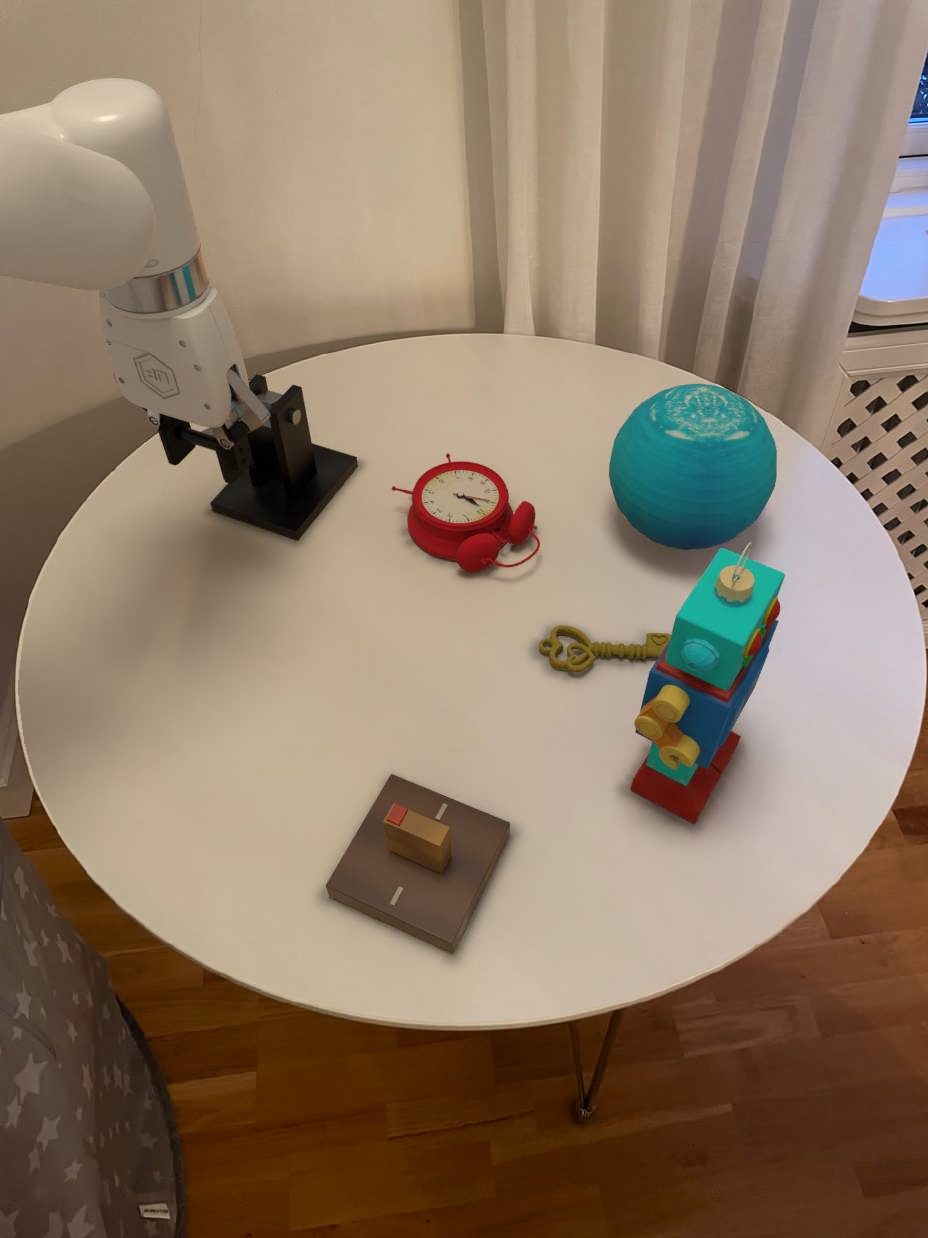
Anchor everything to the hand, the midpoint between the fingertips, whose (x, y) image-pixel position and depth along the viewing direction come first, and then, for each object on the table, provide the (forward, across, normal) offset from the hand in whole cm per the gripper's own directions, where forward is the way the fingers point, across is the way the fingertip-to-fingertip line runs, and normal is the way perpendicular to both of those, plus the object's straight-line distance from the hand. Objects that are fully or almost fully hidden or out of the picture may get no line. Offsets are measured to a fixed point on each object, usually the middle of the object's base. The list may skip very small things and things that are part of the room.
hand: (210, 462), depth 82 cm
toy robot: (+11, +46, -6) cm, 48 cm away
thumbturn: (+9, +31, -22) cm, 39 cm away
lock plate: (+11, +31, -22) cm, 39 cm away
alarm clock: (+11, +20, +11) cm, 26 cm away
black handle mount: (+11, 0, +9) cm, 14 cm away
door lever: (0, 0, +5) cm, 5 cm away
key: (+11, +37, +2) cm, 39 cm away
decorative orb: (+11, +38, +20) cm, 45 cm away
